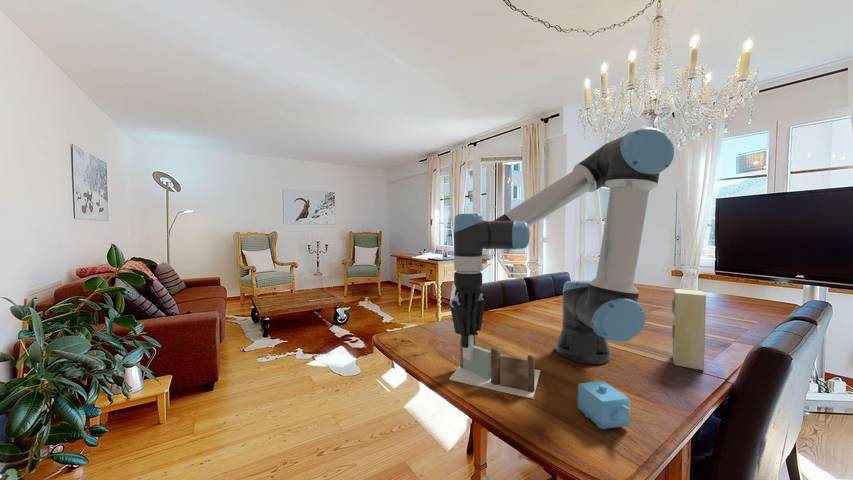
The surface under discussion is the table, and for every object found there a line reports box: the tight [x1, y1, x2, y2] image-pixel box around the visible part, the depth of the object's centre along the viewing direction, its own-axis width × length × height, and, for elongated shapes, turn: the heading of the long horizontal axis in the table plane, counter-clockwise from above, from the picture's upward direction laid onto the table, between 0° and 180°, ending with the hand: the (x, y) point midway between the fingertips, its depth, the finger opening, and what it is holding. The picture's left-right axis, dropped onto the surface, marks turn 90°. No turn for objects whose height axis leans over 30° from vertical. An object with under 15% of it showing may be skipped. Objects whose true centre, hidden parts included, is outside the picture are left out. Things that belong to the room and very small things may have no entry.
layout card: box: [448, 365, 541, 400], centre depth 84 cm, size 21×15×1 cm
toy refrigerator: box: [671, 288, 707, 371], centre depth 91 cm, size 8×7×21 cm
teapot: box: [577, 380, 632, 430], centre depth 64 cm, size 12×6×8 cm, turn 10°
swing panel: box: [459, 337, 491, 379], centre depth 85 cm, size 10×2×8 cm, turn 42°
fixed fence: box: [490, 347, 536, 392], centre depth 78 cm, size 11×2×9 cm, turn 64°
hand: (468, 358), depth 85 cm, fingers closed
